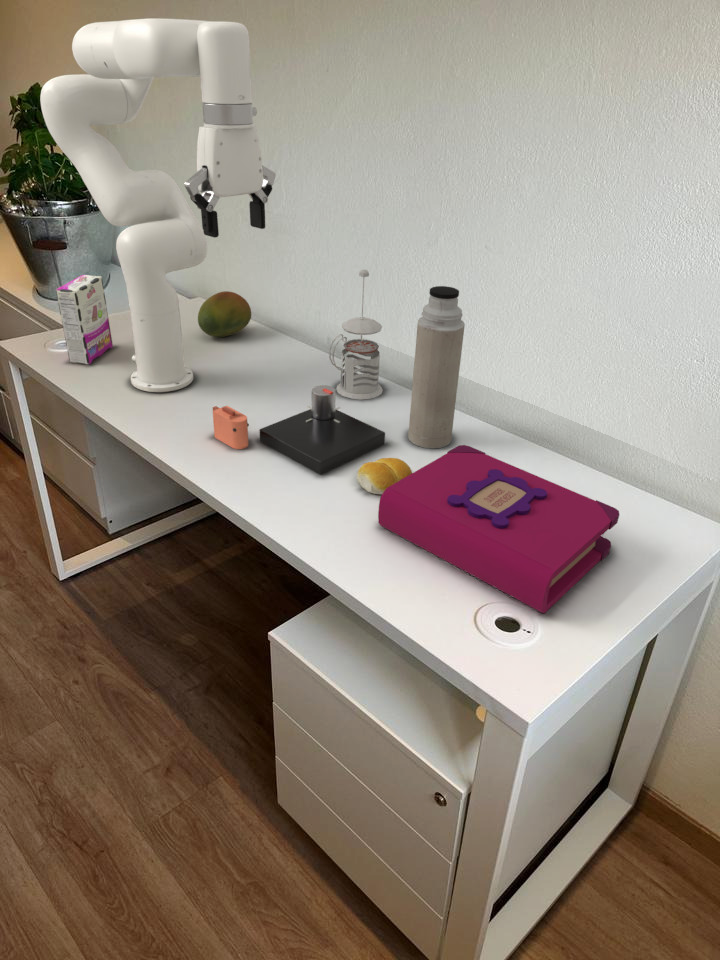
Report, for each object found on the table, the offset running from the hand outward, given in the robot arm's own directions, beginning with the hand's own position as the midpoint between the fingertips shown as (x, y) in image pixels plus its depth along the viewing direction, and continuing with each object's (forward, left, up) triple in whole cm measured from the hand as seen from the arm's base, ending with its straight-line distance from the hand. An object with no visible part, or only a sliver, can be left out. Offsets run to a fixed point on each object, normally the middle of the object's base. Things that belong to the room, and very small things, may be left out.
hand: (235, 231), depth 122 cm
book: (+55, +3, -35) cm, 66 cm away
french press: (+4, +26, -35) cm, 44 cm away
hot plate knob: (+12, +10, -32) cm, 36 cm away
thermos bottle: (+28, +21, -35) cm, 50 cm away
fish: (+4, -7, -35) cm, 36 cm away
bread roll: (+33, +3, -35) cm, 48 cm away
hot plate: (+16, +5, -35) cm, 39 cm away
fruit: (-39, +25, -35) cm, 58 cm away
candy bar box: (-48, -5, -35) cm, 59 cm away
